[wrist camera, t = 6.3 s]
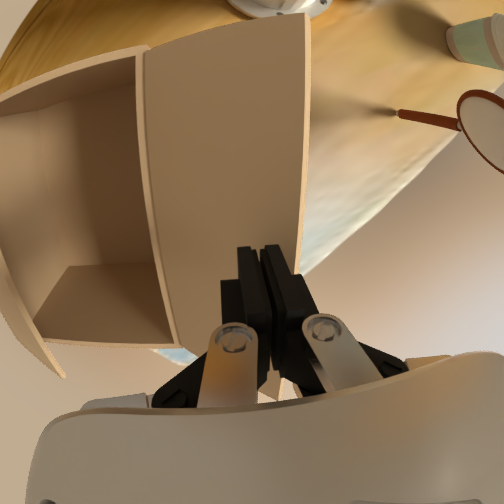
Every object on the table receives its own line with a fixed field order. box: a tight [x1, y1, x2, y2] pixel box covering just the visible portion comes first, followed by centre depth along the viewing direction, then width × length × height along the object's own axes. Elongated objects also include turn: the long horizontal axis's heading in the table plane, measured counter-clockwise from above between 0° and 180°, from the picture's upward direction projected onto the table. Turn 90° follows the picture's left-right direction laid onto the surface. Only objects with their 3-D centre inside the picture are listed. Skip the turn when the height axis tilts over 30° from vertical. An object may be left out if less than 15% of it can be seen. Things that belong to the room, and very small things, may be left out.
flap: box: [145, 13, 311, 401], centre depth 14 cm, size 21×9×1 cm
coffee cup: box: [446, 13, 504, 71], centre depth 16 cm, size 8×8×12 cm
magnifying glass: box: [396, 90, 504, 174], centre depth 18 cm, size 9×2×20 cm, turn 48°
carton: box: [0, 44, 183, 349], centre depth 21 cm, size 22×18×14 cm
